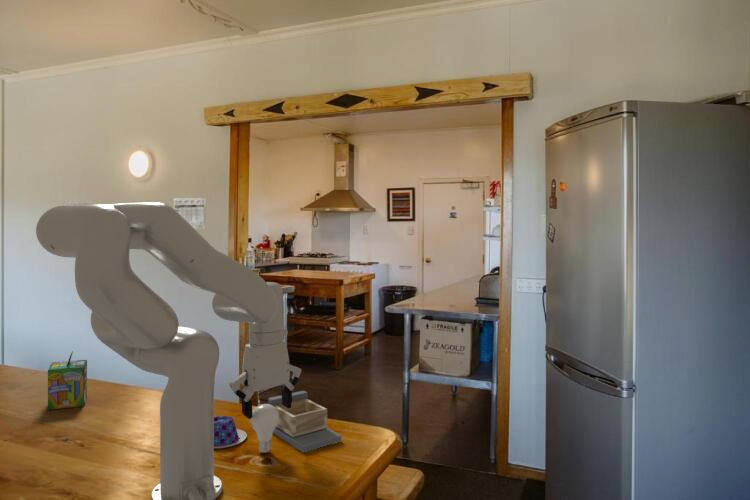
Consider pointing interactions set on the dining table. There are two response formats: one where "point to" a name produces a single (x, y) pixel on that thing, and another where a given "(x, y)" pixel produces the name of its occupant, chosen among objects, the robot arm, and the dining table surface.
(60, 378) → the chalk box
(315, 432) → the base
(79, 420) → the dining table surface
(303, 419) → the box
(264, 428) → the lightbulb
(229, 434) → the pudding
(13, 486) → the dining table surface
